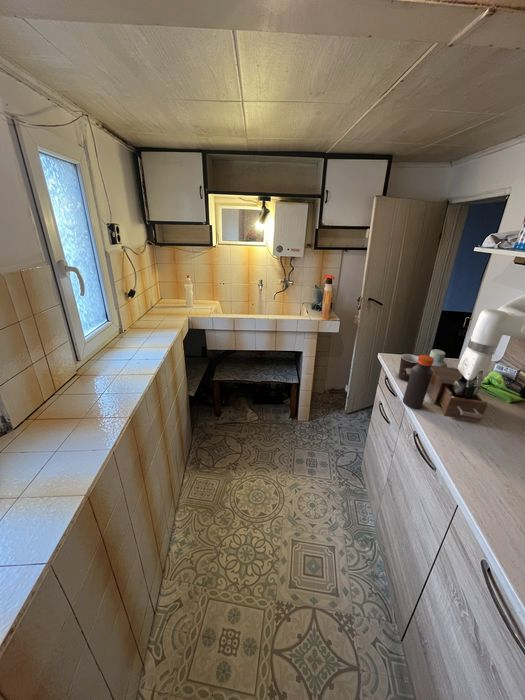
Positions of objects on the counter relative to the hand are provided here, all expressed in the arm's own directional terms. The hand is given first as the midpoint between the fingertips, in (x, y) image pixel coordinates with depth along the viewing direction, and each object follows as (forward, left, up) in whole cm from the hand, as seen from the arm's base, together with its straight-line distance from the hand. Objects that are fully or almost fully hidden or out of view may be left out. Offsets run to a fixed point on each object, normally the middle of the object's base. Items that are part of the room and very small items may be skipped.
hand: (463, 392), depth 101 cm
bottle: (+15, -1, -9) cm, 17 cm away
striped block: (0, 0, 0) cm, 0 cm away
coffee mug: (+12, -21, -9) cm, 26 cm away
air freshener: (-1, -34, -9) cm, 35 cm away
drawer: (0, +1, -8) cm, 8 cm away
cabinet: (0, -11, -9) cm, 14 cm away
